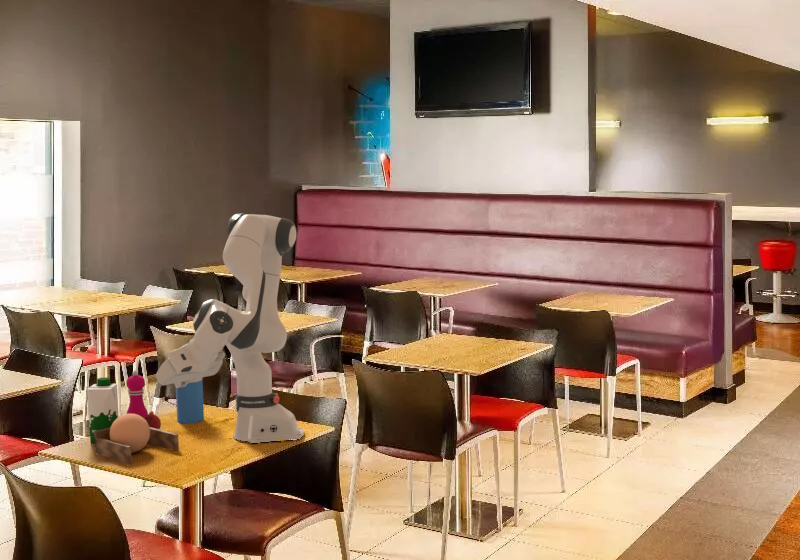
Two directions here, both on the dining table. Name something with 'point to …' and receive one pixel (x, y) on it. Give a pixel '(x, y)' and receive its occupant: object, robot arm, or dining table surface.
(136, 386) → the pepper mill
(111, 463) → the dining table surface
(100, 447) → the corral
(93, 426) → the milk carton
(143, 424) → the rubber ball
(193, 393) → the water bottle
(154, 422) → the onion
